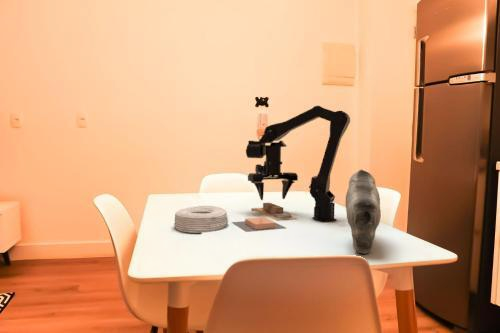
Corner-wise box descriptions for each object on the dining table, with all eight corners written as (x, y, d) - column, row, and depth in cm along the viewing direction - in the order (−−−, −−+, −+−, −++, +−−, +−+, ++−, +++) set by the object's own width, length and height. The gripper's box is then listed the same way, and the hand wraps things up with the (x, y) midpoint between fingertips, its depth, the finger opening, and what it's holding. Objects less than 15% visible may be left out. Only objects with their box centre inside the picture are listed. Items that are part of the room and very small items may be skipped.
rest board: (269, 209, 151) (269, 207, 151) (297, 220, 129) (297, 218, 129) (251, 210, 148) (251, 208, 148) (277, 222, 126) (277, 220, 126)
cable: (217, 220, 130) (217, 203, 129) (236, 231, 114) (236, 212, 113) (169, 224, 122) (168, 207, 122) (181, 237, 107) (181, 217, 106)
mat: (268, 221, 128) (268, 219, 128) (287, 229, 115) (287, 228, 115) (231, 224, 123) (231, 222, 123) (246, 233, 110) (246, 231, 110)
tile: (264, 217, 123) (275, 222, 115) (264, 222, 123) (275, 228, 115) (245, 218, 120) (255, 224, 112) (245, 224, 121) (255, 230, 112)
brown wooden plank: (260, 210, 144) (260, 203, 143) (271, 209, 145) (271, 202, 145) (279, 218, 128) (279, 210, 128) (291, 217, 130) (291, 209, 130)
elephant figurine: (382, 259, 87) (385, 175, 86) (344, 255, 89) (346, 174, 88) (374, 233, 111) (376, 168, 110) (344, 231, 114) (346, 167, 112)
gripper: (285, 157, 148) (284, 195, 149) (242, 157, 141) (242, 197, 142) (298, 158, 138) (298, 199, 139) (253, 159, 131) (253, 202, 132)
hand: (272, 199), depth 138 cm, fingers open, 9 cm apart
